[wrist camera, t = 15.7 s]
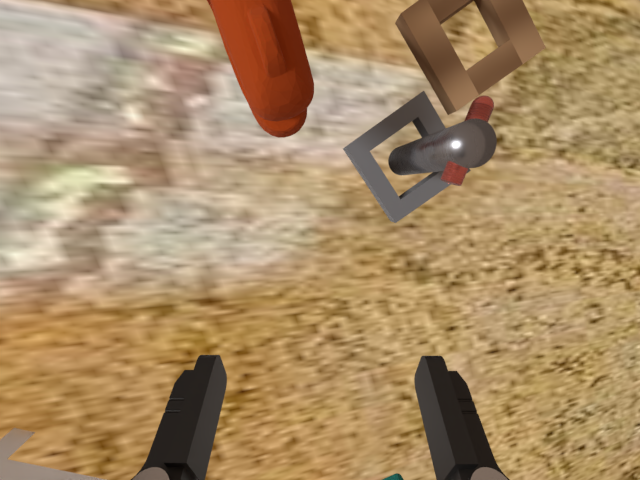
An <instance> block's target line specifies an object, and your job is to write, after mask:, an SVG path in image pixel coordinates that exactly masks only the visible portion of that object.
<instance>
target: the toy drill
mask: <svg viewBox="0 0 640 480" xmlns="http://www.w3.org/2000/svg"><path fill="white" fill-rule="evenodd" d="M207 2H208V4H209V5H210V7H211V9H212V11H213V14H214V17H215V20H216V23H217V26H218V29H219V32H220V35H221V38H222V41H223V44H224V47H225V50H226V52H227V55H228V58H229V60H230V63H231V65H232V68H233V71H234V73H235V76H236V78H237V81H238V83H239V86H240V88H241V90H242V93H243V95H244V96H245V98H246V100H247V102H248V104H249V107H250V109H251V111H252V113H253V115H254V117H255V119H256V121H257V122H258V124H259V125H260V126H261V127H262V129H263V130H264V131H266V132H267V133H269V134H270V135H272V136H275V137H278V138H284V137H289V136H291V135H293V134H295V133H297V132H298V131H299V130H300V129H301V128H302V126H303V125H304V123H305V120H306V117H307V107H308V106H309V105H310V103H311V101H312V99H313V95H314V81H313V77H312V73H311V69H310V65H309V62H308V58H307V54H306V51H305V47H304V44H303V40H302V37H301V33H300V29H299V26H298V23H297V19H296V16H295V12H294V9H293V5H292V2H291V0H207Z"/></svg>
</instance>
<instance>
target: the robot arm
mask: <svg viewBox="0 0 640 480" xmlns="http://www.w3.org/2000/svg"><path fill="white" fill-rule="evenodd" d="M414 383H415V390H416V395H417V399H418V403H419V407H420V412H421V416H422V420H423V424H424V429H425V433H426V437H427V441H428V446H429V450H430V454H431V458H432V463H433V467H434V471H435V475H436V480H510V479H509V478H507V477H506V476H505V474H504V473H503V472H502V471H501V469H500V468H499V466H498V465H497V463H496V461H495V458H494V456H493V453H492V450H491V448H490V445H489V442H488V439H487V437H486V434H485V431H484V429H483V426H482V423H481V420H480V418H479V415H478V414H477V410H476V407H475V404H474V402H473V401H472V396H471V393H470V391H469V388H468V385H467V383H466V382H465V381H464V379H463V378H462V377H461V375H460V374H459V373H458V372H457V371H448V369H447V366H446V363H445V360H444V358H443V357H442V356H421V359H420V362H419V364H418V367H417V370H416V373H415V378H414ZM226 385H227V374H226V371H225V368H224V365H223V362H222V360H221V357H220V355H200V356H199V357H198V359H197V361H196V364H195V367H194V370H184V371H183V373H182V374H181V375H180V377H179V378H178V379H177V380H176V382H175V383H174V386H173V389H172V392H171V394H170V397H169V401H168V402H167V405H166V408H165V412H164V413H163V416H162V419H161V422H160V424H159V427H158V430H157V433H156V435H155V438H154V441H153V444H152V446H151V449H150V452H149V455H148V457H147V460H146V462H145V463H144V465H143V467H142V468H141V470H140V471H139V472H138V473H137V474H136V475H135V476H134V477H133V478H132V479H131V480H205V477H206V473H207V468H208V464H209V460H210V456H211V451H212V447H213V443H214V438H215V434H216V430H217V425H218V421H219V417H220V413H221V408H222V404H223V400H224V395H225V391H226Z"/></svg>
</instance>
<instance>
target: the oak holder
mask: <svg viewBox="0 0 640 480" xmlns="http://www.w3.org/2000/svg"><path fill="white" fill-rule="evenodd" d="M473 1H474V2H475V4H476V6H477V8H478V10H479V11H480V13H481V15H482V17H483V19H484V21H485V23H486V25H487V27H488V29H489V31H490V33H491V34H492V36H493V38H494V40H495V42H496V44H497V46H498V48H497V49H495V50H494V51H493V52H491V53H490V54H488V55H487V56H486V57H484V58H483V59H481V60H480V61H479V62H477V63H476V64H474V65H473V66H472V67H470V68H469V69H467V70H465V68H464V66H463V65H462V63H461V61H460V59H459V57H458V55H457V54H456V52H455V50H454V48H453V46H452V45H451V43H450V41H449V39H448V37H447V35H446V34H445V32H444V30H443V28H442V26H441V24H442V23H444V22H445V21H447V20H448V19H449V18H451V17H452V16H454V15H455V14H456V13H458V12H459V11H460V10H462V9H463V8H465V7H466V6H467V5H469V4H470V3H471V2H473ZM395 24H396V26H397V28H398V29H399V31H400V33H401V35H402V36H403V38H404V40H405V42H406V43H407V45H408V47H409V49H410V50H411V52H412V54H413V55H414V57H415V59H416V61H417V62H418V64H419V66H420V68H421V69H422V71H423V73H424V75H425V76H426V78H427V80H428V81H429V83H430V85H431V87H432V88H433V90H434V92H435V94H436V95H437V97H438V99H439V101H440V102H441V104H442V106H443V108H444V109H445V111H446V113H447V114H448V115H449V114H452V113H454V112H456V111H458V110H459V109H460V108H462V107H463V106H465V105H466V104H467V103H469V102H470V101H472V100H473V99H474V98H476V97H477V96H479V95H480V94H482V93H483V92H484V91H486V90H487V89H489V88H490V87H491V86H493V85H494V84H496V83H497V82H498V81H500V80H501V79H503V78H504V77H506V76H507V75H508V74H510V73H511V72H513V71H514V70H515V69H517V68H518V67H520V66H521V65H522V64H524V63H525V62H527V61H528V60H529V59H531V58H532V57H534V56H535V55H537V54H538V53H539V52H541V51H542V50H544V49H545V48H546V47H545V45H544V43H543V41H542V39H541V37H540V35H539V33H538V31H537V29H536V27H535V24H534V22H533V20H532V18H531V16H530V14H529V12H528V10H527V8H526V6H525V4H524V2H523V0H418V1H417V2H416V3H414V4H413V5H411V6H410V7H409V8H407V9H406V10H405V11H403V12H402V13H401V14H400V16H399V17H398V19H397V20H396V22H395Z"/></svg>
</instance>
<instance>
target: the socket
mask: <svg viewBox="0 0 640 480" xmlns="http://www.w3.org/2000/svg"><path fill="white" fill-rule="evenodd" d="M410 122H413V124H414V125H415V127H416V128H417V130H418V132H419V133H420V135H421V137H422V138H423V137H425V136H428V135H430V134H433V133H435V132H438V131H440V130H443V129H446V128H445V126H444V124H443V122H442V121H441V119H440V117H439V116H438V114H437V112H436V110H435V109H434V107H433V105H432V104H431V102H430V100H429V98H428V97H427V95H426V93H425V91H422V92H421V93H420V94H418V95H417V96H415V97H414V98H413V99H411V100H410V101H409V102H407V103H406V104H404V105H403V106H402V107H400V108H399V109H397V110H396V111H395V112H393V113H392V114H390V115H389V116H388V117H386V118H385V119H383V120H382V121H381V122H379V123H378V124H376V125H375V126H374V127H372V128H371V129H369V130H368V131H367V132H365V133H364V134H362V135H361V136H360V137H358V138H357V139H355V140H354V141H353V142H351V143H350V144H348V145H347V146H346V147H344V148H343V150H344V151H345V153H346V154H347V156H348V157H349V159H350V160H351V162H352V163H353V165H354V167H355V168H356V170H357V171H358V173H359V174H360V176H361V177H362V179H363V180H364V182H365V183H366V185H367V186H368V188H369V189H370V191H371V192H372V194H373V195H374V197H375V198H376V200H377V201H378V203H379V205H380V206H381V208H382V209H383V211H384V212H385V214H386V215H387V217H388V218H389V220H390V221H391V222H394V223H397V222H398V221H399V220H401V219H402V218H404V217H405V216H407V215H408V214H409V213H411V212H412V211H414V210H415V209H417V208H418V207H419V206H421V205H422V204H424V203H425V202H427V201H428V200H429V199H431V198H432V197H434V196H435V195H437V194H438V193H439V192H441V191H442V190H444V189H445V188H447V187H448V186H449V185H451V184H449V183H446V182H444V181H442V180H441V176H442V174H443V172H444V171H439V172H433V173H431V174H430V175H428V176H427V177H425V178H424V179H423V180H421V181H420V182H418V183H417V184H415V185H414V186H413V187H411V188H410V189H408V190H407V191H406V192H404V193H403V194H401V195H400V196H398V195H397V193H396V191H395V190H394V188H393V187H392V185H391V184H390V182H389V181H388V179H387V177H386V176H385V174H384V173H383V171H382V170H381V168H380V167H379V165H378V163H377V162H376V160H375V159H374V157H373V156H372V154H371V152H370V151H371V150H372V149H374V148H375V147H376V146H378V145H379V144H381V143H382V142H383V141H385V140H386V139H388V138H389V137H390V136H392V135H393V134H395V133H396V132H397V131H399V130H400V129H402V128H403V127H404V126H406V125H407V124H409V123H410ZM470 171H471V170H470V169H469V168H468V171H467V173H468V172H470ZM467 173H466V174H467Z"/></svg>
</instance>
